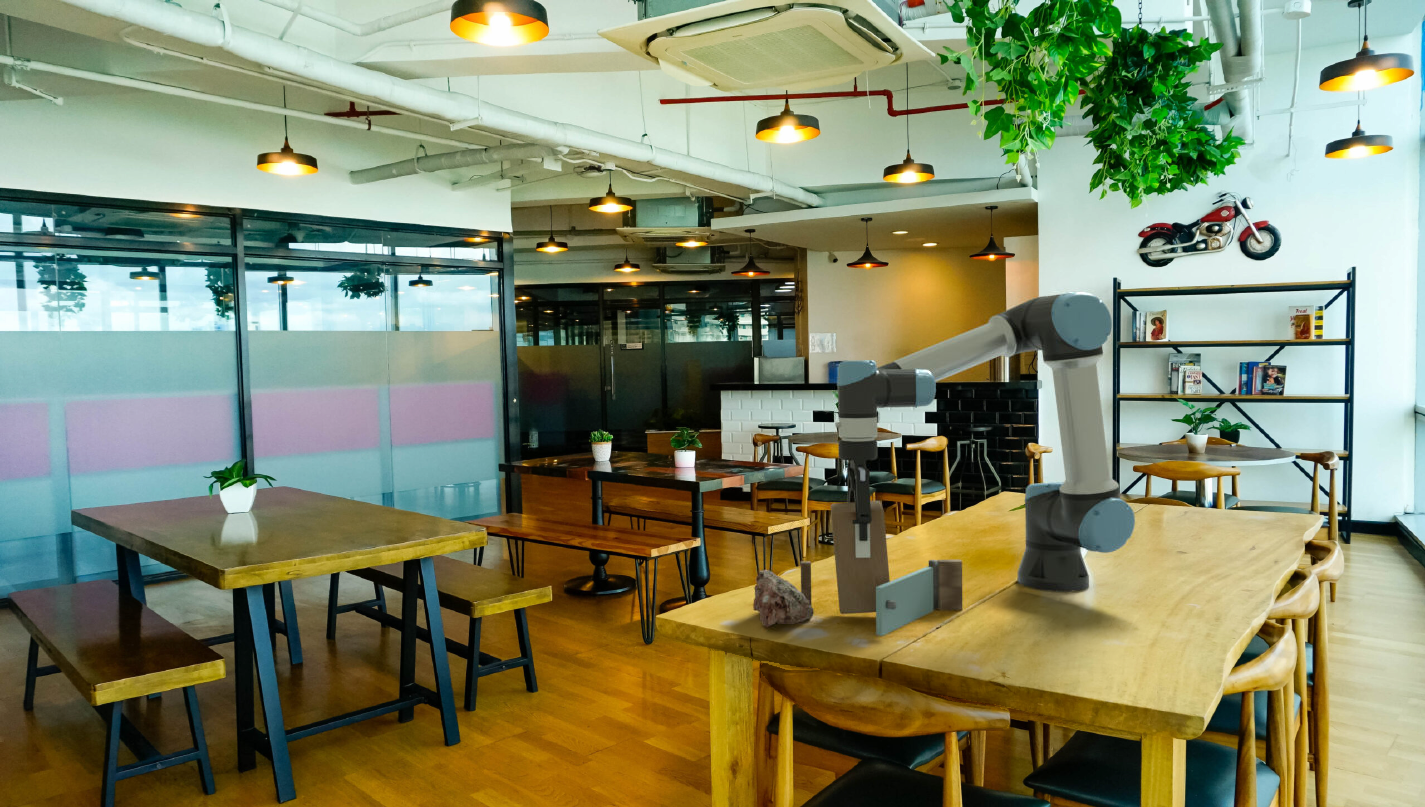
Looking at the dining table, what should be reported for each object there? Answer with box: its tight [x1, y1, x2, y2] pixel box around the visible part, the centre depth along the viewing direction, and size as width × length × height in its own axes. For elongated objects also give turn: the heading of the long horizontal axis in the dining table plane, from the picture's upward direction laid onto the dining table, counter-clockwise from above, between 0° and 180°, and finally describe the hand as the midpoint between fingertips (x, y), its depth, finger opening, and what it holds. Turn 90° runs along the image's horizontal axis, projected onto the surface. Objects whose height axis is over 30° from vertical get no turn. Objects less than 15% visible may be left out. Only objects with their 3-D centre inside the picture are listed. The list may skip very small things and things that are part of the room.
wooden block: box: [830, 500, 891, 615], centre depth 176 cm, size 10×10×20 cm
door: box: [875, 565, 934, 637], centre depth 174 cm, size 21×3×9 cm, turn 140°
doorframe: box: [800, 559, 963, 611], centre depth 184 cm, size 33×2×10 cm, turn 88°
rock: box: [752, 569, 815, 628], centre depth 177 cm, size 16×11×15 cm
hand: (859, 551), depth 176 cm, fingers closed on wooden block, 10 cm apart
